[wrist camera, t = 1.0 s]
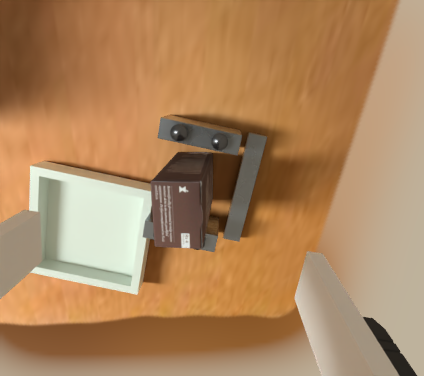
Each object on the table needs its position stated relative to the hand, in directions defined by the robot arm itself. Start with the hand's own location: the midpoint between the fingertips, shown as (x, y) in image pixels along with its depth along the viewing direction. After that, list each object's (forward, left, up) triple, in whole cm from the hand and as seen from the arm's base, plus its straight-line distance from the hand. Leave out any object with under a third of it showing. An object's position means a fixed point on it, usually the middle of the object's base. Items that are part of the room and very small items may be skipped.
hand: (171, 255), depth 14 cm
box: (-1, -2, -21) cm, 21 cm away
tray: (-12, -11, -21) cm, 26 cm away
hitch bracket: (+1, -2, -21) cm, 21 cm away
